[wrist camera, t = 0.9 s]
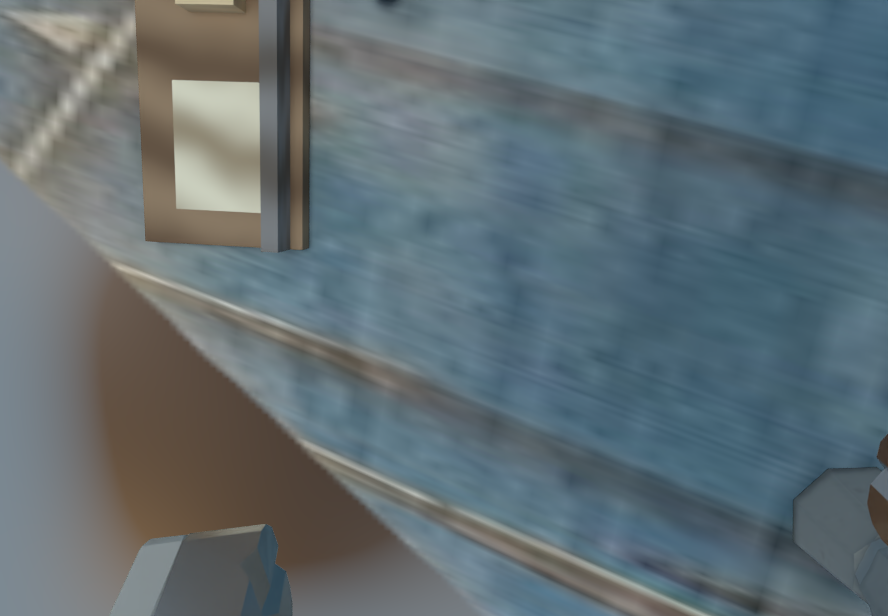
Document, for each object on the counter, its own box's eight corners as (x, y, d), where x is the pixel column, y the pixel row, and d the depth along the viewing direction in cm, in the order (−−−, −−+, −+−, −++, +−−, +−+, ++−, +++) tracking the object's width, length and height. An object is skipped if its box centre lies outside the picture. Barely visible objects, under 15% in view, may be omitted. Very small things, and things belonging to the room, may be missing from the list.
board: (141, -138, 43) (104, -171, 40) (310, -139, 42) (290, -173, 38) (156, 239, 48) (125, 243, 44) (308, 248, 47) (290, 253, 43)
